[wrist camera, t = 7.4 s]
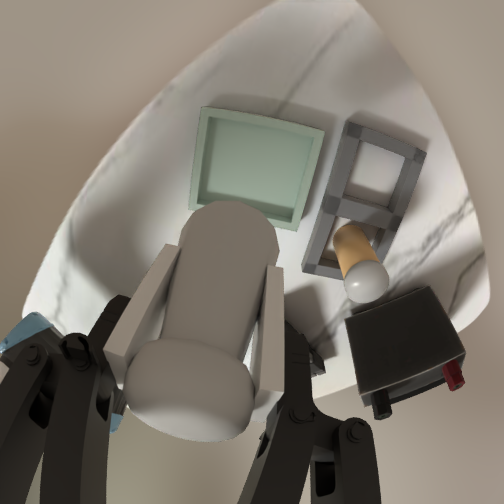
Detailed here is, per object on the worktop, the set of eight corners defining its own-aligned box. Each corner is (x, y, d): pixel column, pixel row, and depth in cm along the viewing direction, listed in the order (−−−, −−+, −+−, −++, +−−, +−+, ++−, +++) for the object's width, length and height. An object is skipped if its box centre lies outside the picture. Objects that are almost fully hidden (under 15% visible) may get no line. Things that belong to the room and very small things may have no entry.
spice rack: (301, 264, 39) (306, 313, 31) (345, 120, 28) (374, 130, 19) (367, 277, 40) (385, 324, 31) (419, 149, 28) (463, 171, 20)
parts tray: (193, 203, 36) (188, 209, 34) (206, 106, 29) (201, 107, 27) (295, 224, 36) (296, 231, 34) (321, 129, 29) (325, 131, 27)
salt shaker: (266, 274, 19) (252, 462, 8) (188, 257, 19) (114, 428, 8) (289, 199, 16) (306, 411, 5) (197, 179, 16) (68, 351, 5)
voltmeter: (360, 360, 51) (375, 444, 34) (342, 313, 44) (362, 419, 27) (428, 334, 46) (458, 413, 29) (426, 279, 39) (475, 373, 22)
